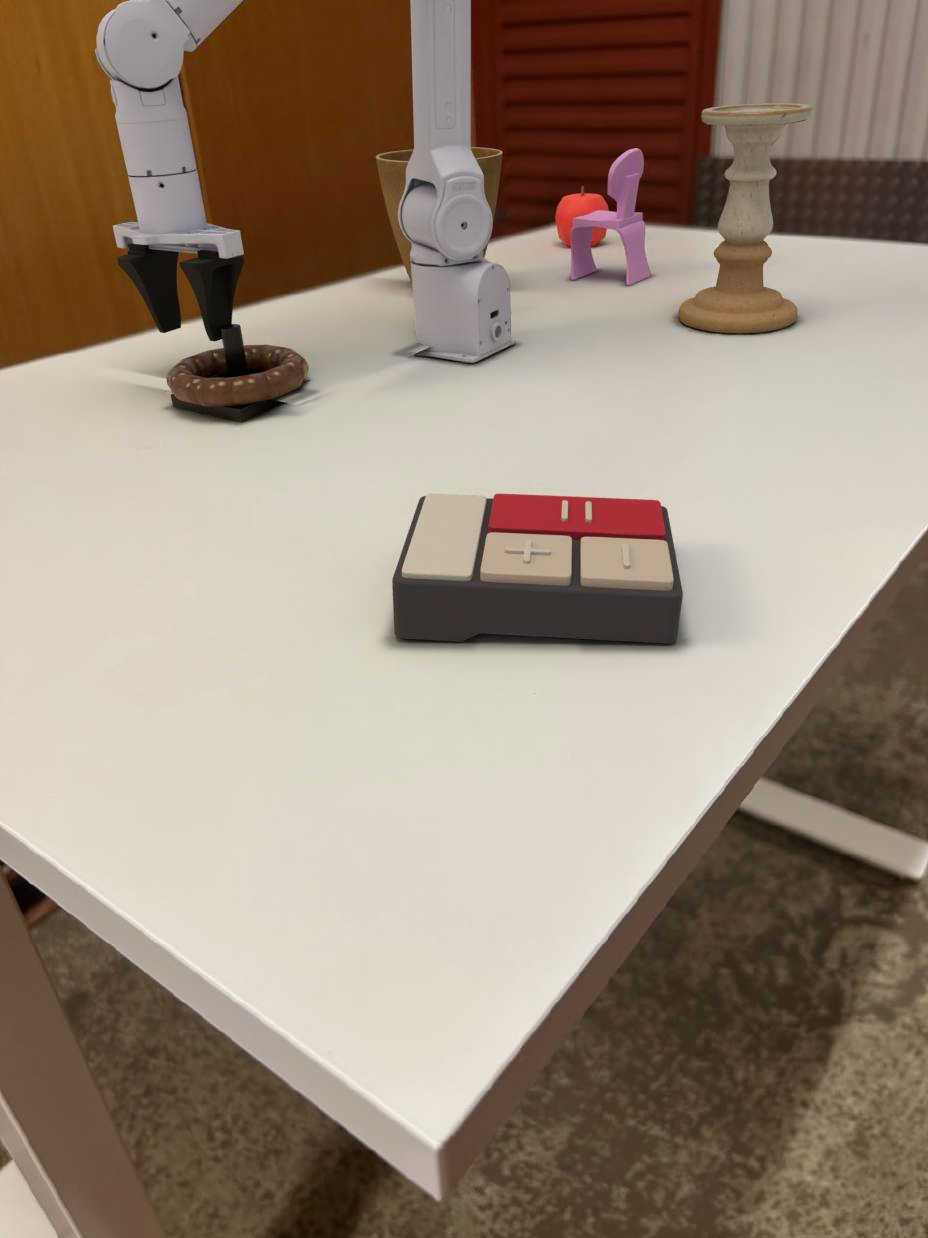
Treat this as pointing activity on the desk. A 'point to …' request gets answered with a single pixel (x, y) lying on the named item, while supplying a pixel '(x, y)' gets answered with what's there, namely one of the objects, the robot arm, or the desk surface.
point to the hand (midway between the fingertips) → (195, 334)
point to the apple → (579, 214)
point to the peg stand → (235, 369)
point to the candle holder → (745, 225)
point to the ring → (200, 388)
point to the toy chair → (615, 221)
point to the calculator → (538, 569)
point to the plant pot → (395, 182)
